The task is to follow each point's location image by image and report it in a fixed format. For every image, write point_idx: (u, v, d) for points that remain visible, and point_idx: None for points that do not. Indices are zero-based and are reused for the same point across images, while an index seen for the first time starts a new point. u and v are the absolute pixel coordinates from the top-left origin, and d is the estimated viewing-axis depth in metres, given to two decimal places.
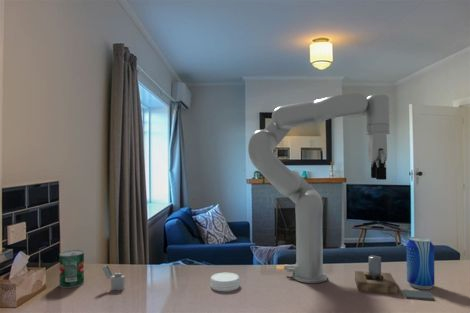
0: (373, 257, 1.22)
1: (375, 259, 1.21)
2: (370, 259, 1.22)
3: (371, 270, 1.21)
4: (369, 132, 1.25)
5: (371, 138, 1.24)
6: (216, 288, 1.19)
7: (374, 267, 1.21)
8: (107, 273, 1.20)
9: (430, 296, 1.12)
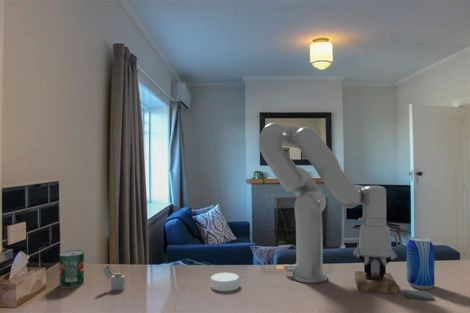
0: (373, 257, 1.22)
1: (375, 259, 1.21)
2: (370, 259, 1.22)
3: (371, 270, 1.21)
4: (382, 226, 1.19)
5: (384, 232, 1.19)
6: (216, 288, 1.19)
7: (374, 267, 1.21)
8: (107, 273, 1.20)
9: (430, 296, 1.12)
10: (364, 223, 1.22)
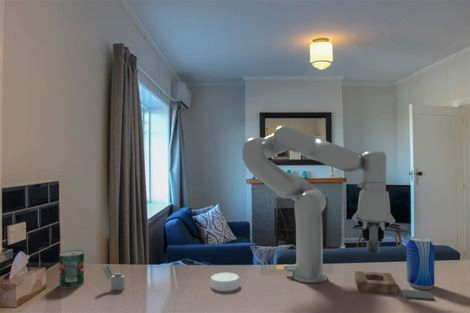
0: (372, 222, 1.22)
1: (374, 224, 1.21)
2: (368, 224, 1.22)
3: (369, 235, 1.22)
4: (381, 190, 1.19)
5: (383, 197, 1.20)
6: (216, 288, 1.19)
7: (373, 231, 1.21)
8: (107, 273, 1.20)
9: (430, 296, 1.12)
10: (363, 188, 1.22)
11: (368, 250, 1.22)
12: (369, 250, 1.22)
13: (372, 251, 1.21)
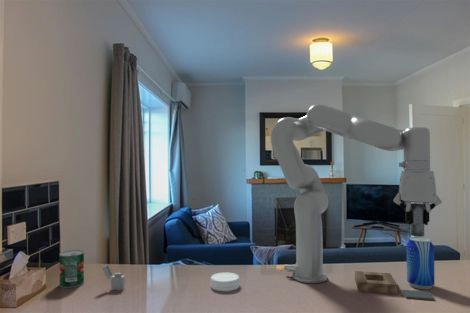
0: (415, 204, 1.14)
1: (418, 205, 1.12)
2: (412, 205, 1.13)
3: (414, 217, 1.13)
4: (426, 169, 1.11)
5: (428, 176, 1.11)
6: (216, 288, 1.19)
7: (417, 213, 1.12)
8: (107, 273, 1.20)
9: (430, 296, 1.12)
10: (406, 167, 1.13)
11: (412, 234, 1.13)
12: (414, 234, 1.13)
13: (417, 235, 1.12)
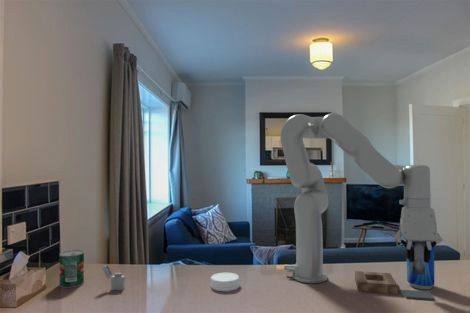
0: (416, 241, 1.13)
1: (419, 243, 1.12)
2: (413, 243, 1.13)
3: (415, 255, 1.13)
4: (426, 207, 1.11)
5: (429, 214, 1.11)
6: (216, 288, 1.19)
7: (418, 251, 1.12)
8: (107, 273, 1.20)
9: (430, 296, 1.12)
10: (406, 205, 1.13)
11: (414, 272, 1.13)
12: (415, 272, 1.13)
13: (418, 273, 1.12)
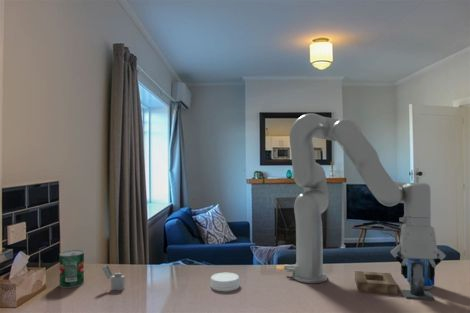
0: (416, 262, 1.13)
1: (419, 265, 1.12)
2: (413, 264, 1.13)
3: (414, 276, 1.13)
4: (426, 226, 1.11)
5: (429, 233, 1.11)
6: (216, 288, 1.19)
7: (418, 273, 1.12)
8: (107, 273, 1.20)
9: (430, 296, 1.12)
10: (406, 223, 1.13)
11: (413, 293, 1.13)
12: (414, 293, 1.13)
13: (417, 294, 1.12)
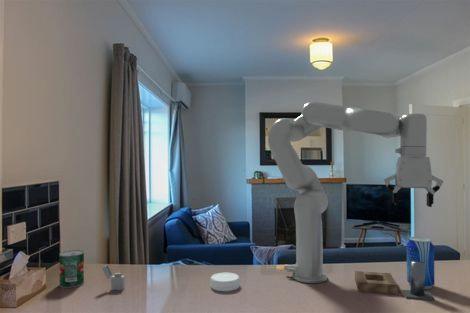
0: (416, 262, 1.14)
1: (419, 265, 1.12)
2: (413, 264, 1.13)
3: (414, 276, 1.13)
4: (422, 155, 1.12)
5: (424, 162, 1.12)
6: (216, 288, 1.19)
7: (418, 273, 1.12)
8: (107, 273, 1.20)
9: (430, 296, 1.12)
10: (402, 153, 1.14)
11: (413, 293, 1.13)
12: (414, 293, 1.13)
13: (417, 294, 1.12)
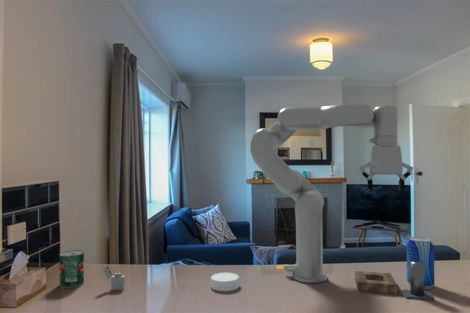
0: (416, 262, 1.13)
1: (419, 265, 1.12)
2: (413, 265, 1.13)
3: (414, 277, 1.13)
4: (393, 144, 1.20)
5: (395, 150, 1.21)
6: (216, 288, 1.19)
7: (418, 273, 1.12)
8: (107, 273, 1.20)
9: (430, 296, 1.12)
10: (375, 142, 1.23)
11: (413, 293, 1.13)
12: (414, 293, 1.13)
13: (418, 294, 1.12)
